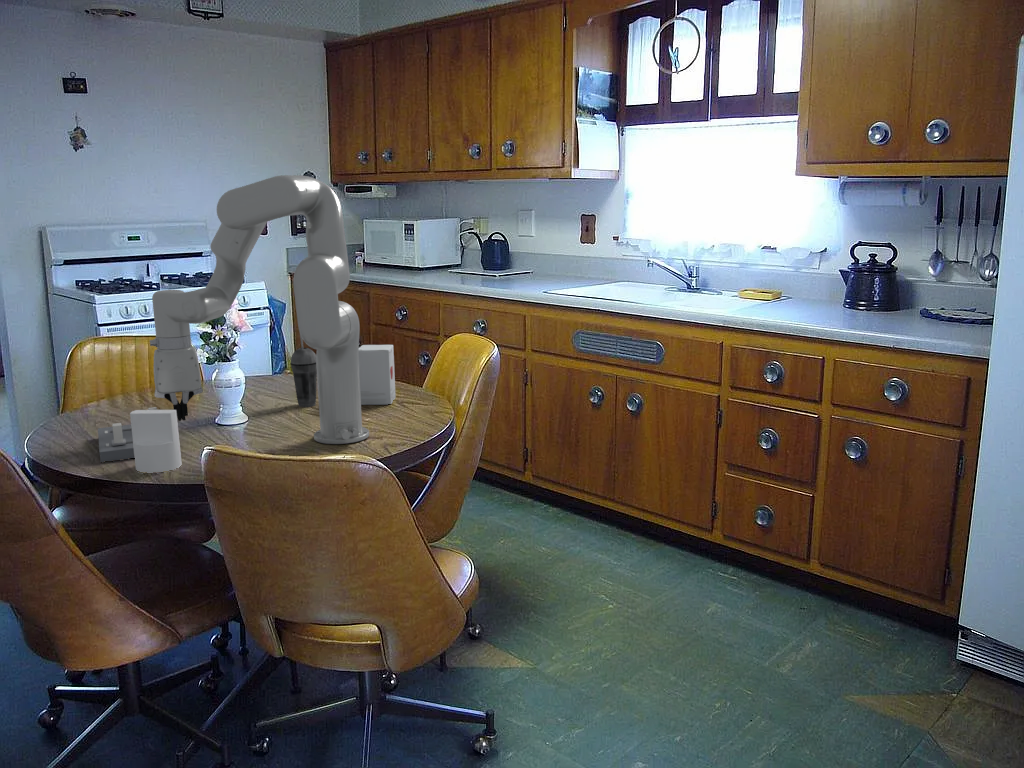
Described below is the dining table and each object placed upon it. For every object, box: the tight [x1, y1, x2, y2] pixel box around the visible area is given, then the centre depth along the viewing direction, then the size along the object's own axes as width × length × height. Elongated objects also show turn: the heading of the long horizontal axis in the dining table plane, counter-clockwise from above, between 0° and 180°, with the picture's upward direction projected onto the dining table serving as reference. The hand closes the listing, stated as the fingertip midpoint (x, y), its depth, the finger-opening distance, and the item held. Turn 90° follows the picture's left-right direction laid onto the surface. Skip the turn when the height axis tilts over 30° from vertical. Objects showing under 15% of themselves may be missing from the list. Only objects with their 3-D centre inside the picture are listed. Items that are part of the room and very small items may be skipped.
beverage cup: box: [289, 334, 317, 408], centre depth 237 cm, size 7×7×20 cm
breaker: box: [111, 422, 126, 446], centre depth 195 cm, size 4×3×4 cm
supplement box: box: [359, 344, 396, 406], centre depth 240 cm, size 9×9×15 cm
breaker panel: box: [97, 424, 135, 463], centre depth 203 cm, size 22×16×2 cm
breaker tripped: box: [147, 406, 158, 410], centre depth 209 cm, size 4×3×4 cm
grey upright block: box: [129, 409, 183, 473], centre depth 186 cm, size 9×9×12 cm
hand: (181, 419), depth 212 cm, fingers closed
